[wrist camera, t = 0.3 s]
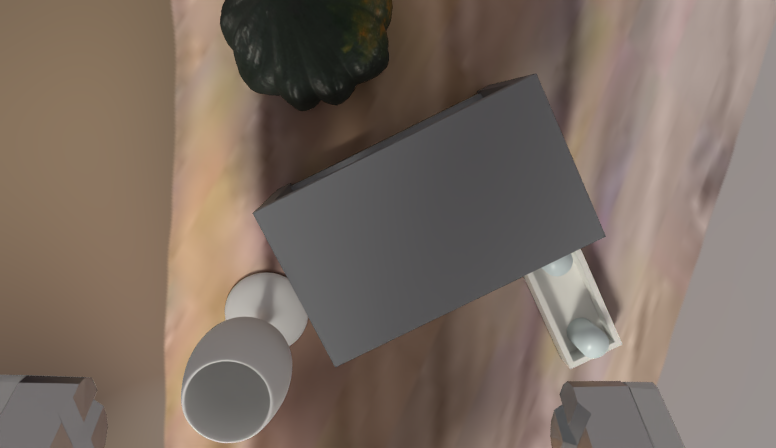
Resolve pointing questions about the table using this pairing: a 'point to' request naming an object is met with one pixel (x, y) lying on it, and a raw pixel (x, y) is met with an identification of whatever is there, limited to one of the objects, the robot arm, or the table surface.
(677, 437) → the robot arm
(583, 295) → the tray
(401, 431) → the table surface
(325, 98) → the squash
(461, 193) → the side table
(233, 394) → the wineglass
